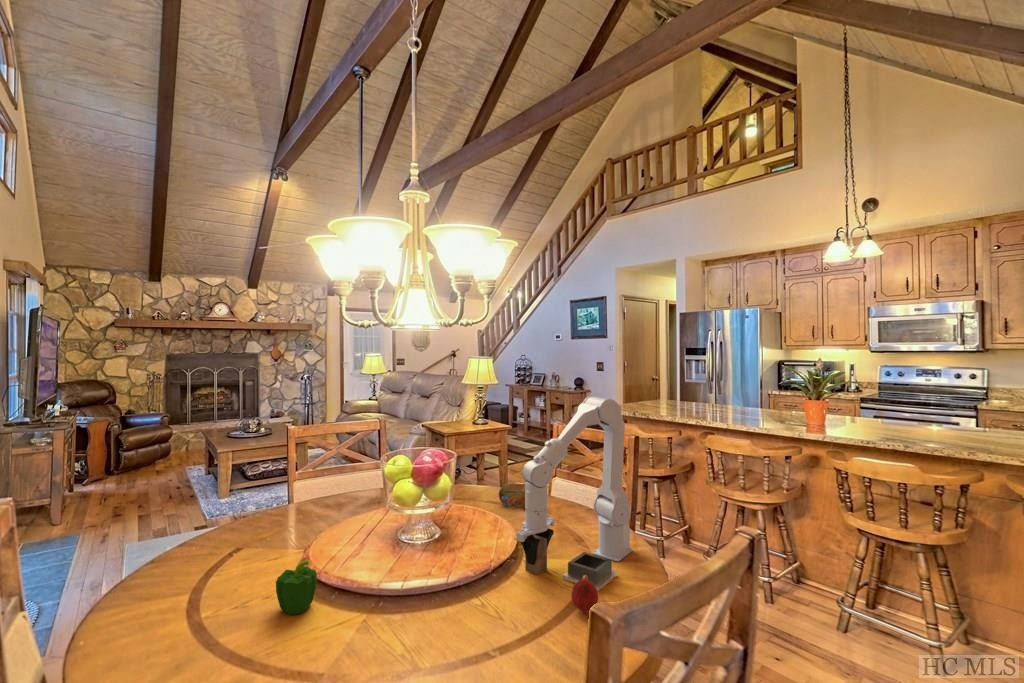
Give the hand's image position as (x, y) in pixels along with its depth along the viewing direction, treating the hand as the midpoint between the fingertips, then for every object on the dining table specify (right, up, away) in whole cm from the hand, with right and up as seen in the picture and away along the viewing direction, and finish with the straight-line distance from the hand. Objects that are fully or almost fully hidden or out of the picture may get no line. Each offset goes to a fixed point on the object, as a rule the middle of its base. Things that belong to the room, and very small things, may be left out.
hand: (536, 560), depth 129 cm
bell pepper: (-54, -3, -19) cm, 57 cm away
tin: (-3, -3, +49) cm, 50 cm away
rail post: (0, -2, 0) cm, 2 cm away
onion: (+10, -3, -20) cm, 23 cm away
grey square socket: (+13, -2, -4) cm, 14 cm away
